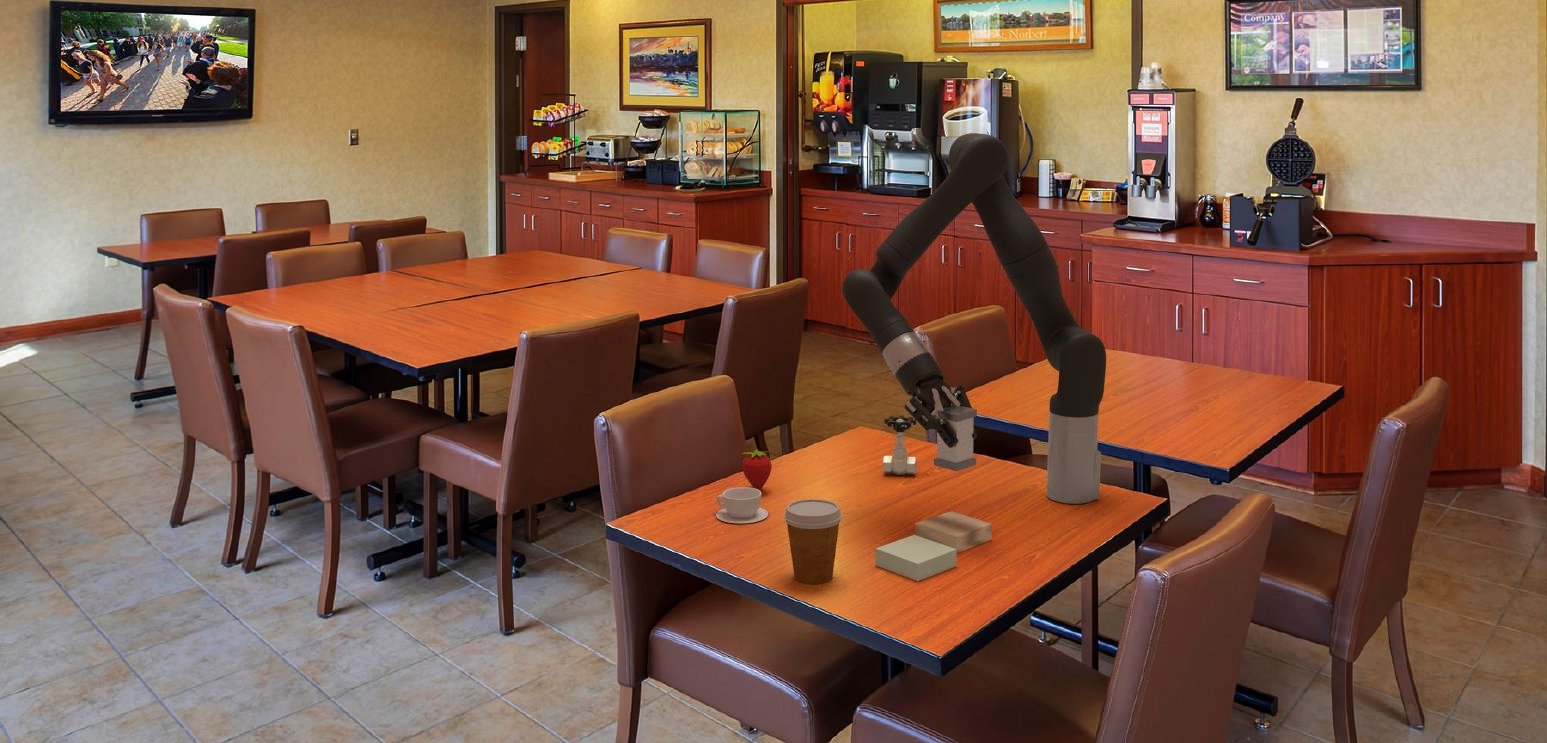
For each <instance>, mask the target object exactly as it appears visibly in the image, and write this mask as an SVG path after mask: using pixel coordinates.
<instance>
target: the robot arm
mask: <svg viewBox="0 0 1547 743" xmlns="http://www.w3.org/2000/svg"><path fill="white" fill-rule="evenodd" d="M947 159H948V164H949V165H948V166H949V169H950V172H949V174H948V175H947V176H946V178H944V180H943V181H942V183H941V184H940V185H939V186H938V187H937V188H936V189H935V190H934V191H933V192H932V193H931V195H929V196H928V197H927V198H926V199H925V200H924V201H923V202H922V203H920V204H918V205H917V207H916V206H915V208H914V209H912V211H910V212H909V213H908V214H907V215H905V217H903V218H902V220H900V222H899V223H898V224H897V225H896V226H895V228H893V230H892V231H891V232H890V233H889V234H888V236H887V237H886V238H885V240H884V241H882V243H881V244H880V245H879V247H878V248H877V250H876V253H875V257H876V260H875V263H874V264H873V265H872V266H871V268H870V270H867V269H862V268H861V269H854V270H852V271H850V272H849V273H847V275H846V276H845V277H844V280H843V281H842V286H841V292H842V296H843V298H844V300H845V302H846V304H848V306H849V308H850V309H851V311H852V312H853V313H854V314H855V316H856V317H857V318H858V319H859V321H860V322H861V324H862V325H864V327H865V328H866V330H867V331H868V332H869V335H870V336H871V338H872V341H874V344H875V345H876V346H877V348H878V349H879V350H880V352H881V354H882V356H883V358H884V360H885V361H886V364H887V366H888V368H889V369H890V370H891V372H892V373H893V375H894V377H895V378H896V380H897V382H898V383H899V385H900V386H901V388H902V389H903V390H904V392H905V393H906V394H907V396H909V397H911V398H910V399H909V400H908V401H907V402H906V404H904V407H903V408H904V409H905V410H906V411H907V413H909V415H911V417H913V419H916V423H918V424H919V425H920V426H921V427H922V428H923V429H924V430H925V431H930V430H933V431H934V432H936V433H937V432H938V434H939V435H940V437H941V438H942V440H943V441H944V443H945V444H946V445H947V446H948V447H949V448H952V447H954V446H955V445H956V444H957V443H958V439H957V437H956V436H955V434H954V433H953V431H952V430H951V428H950V427H949V425H948V424H945V423H946V421H945V419H943V418H942V417H941V415H940V413H939V411H943V407H947V406H951V405H953V406H956V407H957V406H963V407H968V408H972V409H973V407H972V405H971V402H970V400H969V397H968V395H967V392H966V390H965V388H964V386H963V385H962V384H958V386H956V387H952V386H950V385H949V384H948V383H947V382H946V381H945V380H944V371H943V370H942V368H941V367H940V365H939V363H938V362H937V360H936V359H935V357H934V355H933V354H932V352H930V350H929V348H928V347H927V345H926V344H925V342H924V341H923V340H922V338H920V337H919V336H918V335H917V333H916V332H915V330H914V329H913V327H912V326H911V324H910V323H909V321H908V320H907V318H906V317H905V316H904V314H903V313H901V311H900V310H898V308H897V307H896V306H895V304H894V303H893V302H892V299H893V298H894V296H895V294H896V293H897V291H898V290H899V287H900V286H901V284H902V282H904V278H905V276H906V275H907V273H908V272H909V271H910V270H911V269H912V268H913V266H914V265H915V264H916V263H917V262H918V261H919V260H920V259H921V257H922V256H923V255H924V254H925V252H926V251H928V249H929V248H930V246H932V244H933V243H934V242H935V241H936V240H937V239H938V238H939V236H940V235H941V234H942V233H943V232H944V231H945V229H947V227H948V226H949V225H950V224H951V223H952V222H953V221H954V220H955V219H956V218H957V217H958V216H959V215H960V214H961V213H962V212H963V211H964V210H965V209H966V208H967V207H968V206H969V205H970V204H972V205H973V207H974V209H975V210H976V212H977V215H978V216H979V219H980V220H981V224H982V226H983V227H984V230H985V232H986V235H987V237H988V239H989V241H990V244H991V246H992V247H993V250H994V252H995V254H996V257H997V259H998V260H999V263H1000V265H1001V267H1002V269H1003V271H1004V272H1005V274H1006V276H1007V279H1008V280H1009V282H1010V283H1011V285H1012V287H1013V289H1014V291H1015V293H1016V294H1017V296H1018V298H1019V300H1020V302H1021V304H1022V306H1024V308H1025V310H1026V311H1027V313H1028V315H1029V318H1030V319H1031V321H1032V323H1033V326H1034V328H1035V331H1036V333H1037V335H1038V336H1037V337H1038V339H1039V341H1040V342H1039V343H1040V344H1041V346H1042V347H1041V348H1042V350H1043V352H1044V354H1045V356H1046V360H1047V361H1048V363H1049V365H1050V366H1051V367H1052V368H1053V369H1054V370H1055V371H1057V372H1058V384H1057V391H1056V393H1053V394H1052V395H1051V396H1050V398H1049V412H1048V413H1049V414H1048V415H1049V416H1048V417H1049V418H1048V440H1047V441H1048V442H1047V443H1048V444H1047V468H1046V469H1047V470H1046V471H1047V473H1046V485H1045V486H1046V497H1047V498H1048V499H1050V500H1051V501H1054V502H1057V503H1063V504H1069V505H1070V504H1071V505H1072V504H1075V505H1076V504H1077V505H1079V504H1080V505H1081V504H1086V503H1090V502H1093V501H1095V500H1099V499H1100V489H1101V488H1100V486H1101V485H1100V484H1101V464H1102V459H1101V458H1102V452H1101V451H1100V450H1098V438H1099V436H1098V434H1099V433H1098V432H1099V412H1100V404H1101V402H1102V401H1103V398H1104V397H1103V396H1104V391H1105V381H1106V370H1107V350H1106V347H1105V344H1104V342H1103V341H1102V340H1101V338H1099V337H1098V336H1097V335H1096V334H1093V333H1091V332H1090V331H1087V330H1085V329H1082V327H1081V326H1080V325H1079V323H1078V322H1077V320H1076V319H1075V316H1073V314H1072V312H1071V310H1070V308H1069V307H1068V305H1067V303H1066V301H1065V299H1064V298H1065V297H1064V295H1063V291H1062V285H1061V277H1060V276H1061V275H1060V271H1059V268H1058V265H1057V262H1056V258H1055V256H1054V254H1053V252H1052V250H1051V247H1050V246H1049V244H1048V242H1047V240H1046V238H1045V235H1043V232H1042V231H1041V229H1040V228H1039V227H1038V225H1037V224H1036V222H1035V221H1034V219H1032V217H1031V215H1030V214H1029V213H1028V212H1027V211H1026V210H1025V208H1024V207H1022V206H1023V205H1021V204H1020V202H1019V201H1018V200H1017V199H1016V197H1015V196H1014V194H1013V193H1012V191H1011V190H1010V187H1009V186H1008V183H1007V181H1006V179H1005V176H1004V173H1005V171H1006V169H1007V167H1008V163H1009V153H1008V149H1007V147H1006V145H1005V144H1004V142H1003V141H1002V140H1001V139H999V138H998V137H996V136H993V135H991V134H986V133H977V132H970V133H965V134H963V135H962V134H961V135H960V136H958V137H957V138H956V139H955V140H954V141H953V142H952V144H951V146H950V147H949V151H948V158H947ZM935 416H937V417H935ZM977 437H978V433H977V430H976V428H975V426H973V441H974V440H975V439H976V438H977Z"/></svg>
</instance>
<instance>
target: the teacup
mask: <svg viewBox="0 0 1547 743" xmlns="http://www.w3.org/2000/svg"><path fill="white" fill-rule="evenodd" d="M761 491H762V490H758V489H755V488H753V487H748V486H747V487H746V486H743V487H742V486H740V487H730V488H727V489H726V490H724V491H722V494H719V495H718V496H717V497H716V504H717V505H718V506H719V507H720V508H722V509H720V510H718V511H717V512H716V513H715V517H716V519H718V520H719V521H722V522H725V523H729V524H730V523H731V524H752V523H757V522H761V521H763V520H765V519H766V518H768V516H769V511H767V510H766V509H764V508H763V507H761V501H762V492H761ZM720 499H721V500H722V502H721V500H720ZM755 514H756V515H755Z"/></svg>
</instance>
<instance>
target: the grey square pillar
mask: <svg viewBox="0 0 1547 743" xmlns="http://www.w3.org/2000/svg"><path fill="white" fill-rule="evenodd" d="M939 413H940V415H941V417H942V418H943V419H945V421H946V423H945V424H948V425H949V427H950V428H951V430H952V431H953V433H954V434H955V436H956V437H957V439H958V443H957V444H956V445H955V446H954V447H952V448H949V447H948V446H947V445H946V444H945V443H944V441H943V440H942V438H941V437H940V435H939V434H938V432H936V434H937V435H936V438H937V439H936V441H937V442H936V448H937V449H936V454H937V455H936V457H935V458H933V465H934V466H936V467H939V468H943V469H947V470H950V471H954V472H959V471H962V470H966V469H968V468H972V467H974V466H977V458H976V457H974V440H973V427H974V421H975V420H974V418H976V417H977V416H978V409H976V408H973V407H972V408H968V407H963V406H957V407H956V406H953V405H952V404H951V406H947V407H943V411H939ZM935 417H937V416H935Z"/></svg>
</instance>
